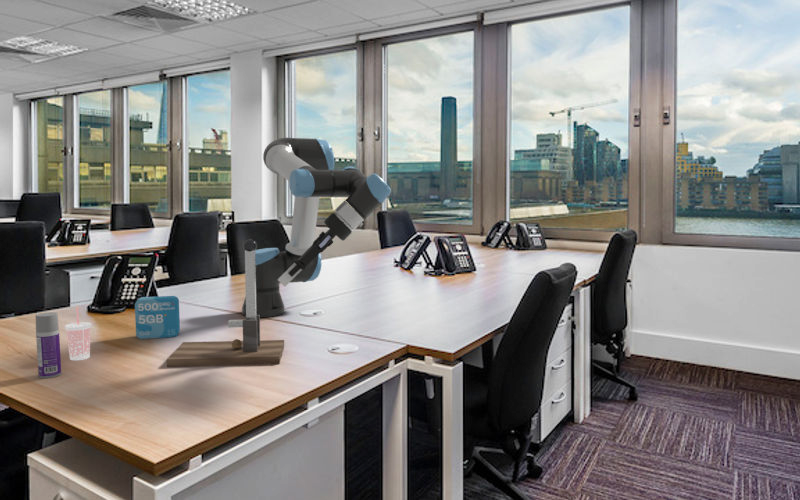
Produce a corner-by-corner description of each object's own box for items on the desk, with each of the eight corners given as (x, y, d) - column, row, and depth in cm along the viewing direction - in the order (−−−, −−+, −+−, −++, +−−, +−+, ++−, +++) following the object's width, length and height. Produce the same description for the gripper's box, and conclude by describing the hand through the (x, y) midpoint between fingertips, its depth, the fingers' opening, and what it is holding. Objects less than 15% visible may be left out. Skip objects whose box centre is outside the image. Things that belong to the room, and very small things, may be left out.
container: (65, 372, 139) (62, 312, 137) (54, 378, 134) (50, 316, 132) (46, 372, 138) (42, 312, 137) (34, 378, 134) (30, 316, 132)
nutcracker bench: (183, 349, 159) (182, 312, 158) (284, 346, 162) (283, 310, 161) (167, 366, 143) (165, 326, 142) (279, 363, 147) (278, 324, 146)
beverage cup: (87, 353, 154) (84, 302, 153) (97, 357, 150) (94, 305, 149) (62, 358, 150) (59, 306, 148) (72, 362, 146) (69, 309, 144)
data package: (136, 339, 169) (134, 300, 167) (138, 335, 173) (136, 297, 172) (179, 336, 172) (177, 298, 171) (180, 333, 176) (178, 295, 175)
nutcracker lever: (229, 327, 154) (227, 238, 151) (259, 326, 155) (257, 238, 152) (227, 330, 150) (225, 240, 148) (257, 329, 151) (255, 239, 149)
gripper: (354, 233, 147) (289, 297, 147) (352, 229, 160) (293, 288, 159) (333, 212, 146) (268, 277, 145) (333, 210, 158) (273, 269, 158)
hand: (281, 282), depth 152 cm, fingers closed
